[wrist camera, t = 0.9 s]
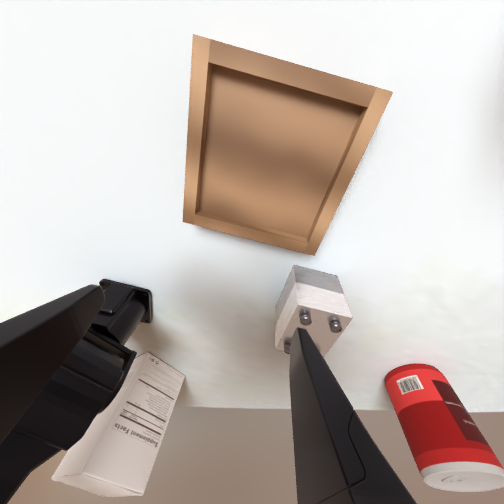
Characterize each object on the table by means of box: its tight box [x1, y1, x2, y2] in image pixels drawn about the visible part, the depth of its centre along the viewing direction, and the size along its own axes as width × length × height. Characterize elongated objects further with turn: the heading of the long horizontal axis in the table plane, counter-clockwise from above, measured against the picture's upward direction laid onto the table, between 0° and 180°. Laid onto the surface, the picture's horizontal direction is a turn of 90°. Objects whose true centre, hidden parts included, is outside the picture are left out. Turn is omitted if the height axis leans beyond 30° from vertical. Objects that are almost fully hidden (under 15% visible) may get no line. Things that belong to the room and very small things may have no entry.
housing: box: [275, 265, 353, 357], centre depth 23 cm, size 7×5×7 cm
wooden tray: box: [183, 34, 393, 255], centre depth 17 cm, size 12×12×3 cm
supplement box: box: [51, 352, 185, 497], centre depth 33 cm, size 9×9×15 cm
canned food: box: [385, 364, 504, 492], centre depth 28 cm, size 8×8×11 cm
